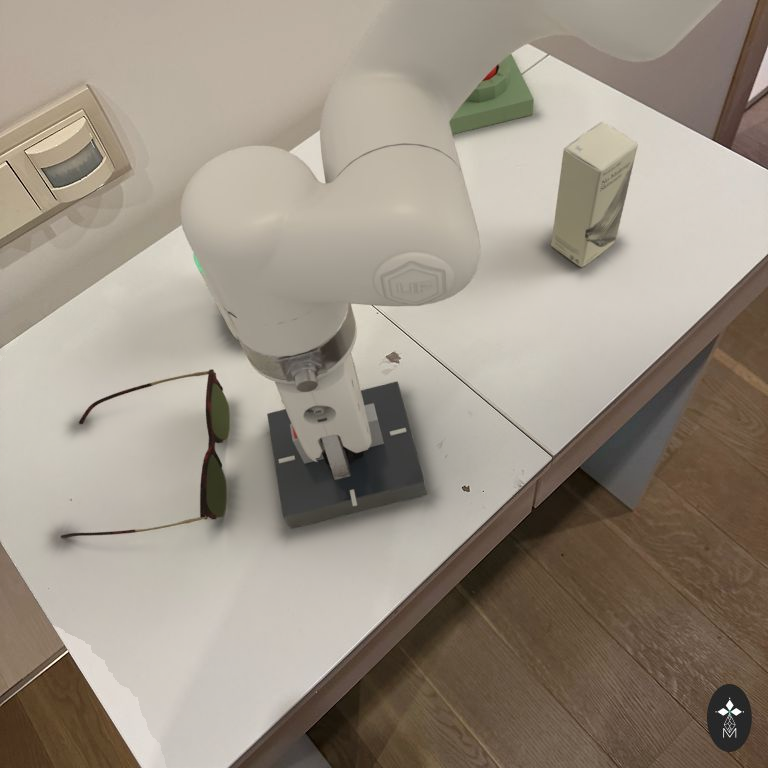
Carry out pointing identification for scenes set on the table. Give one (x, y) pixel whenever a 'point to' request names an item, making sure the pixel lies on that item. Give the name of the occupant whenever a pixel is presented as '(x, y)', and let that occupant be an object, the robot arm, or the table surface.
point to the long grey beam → (373, 426)
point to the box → (592, 192)
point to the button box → (495, 100)
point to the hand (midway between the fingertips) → (342, 445)
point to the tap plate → (367, 474)
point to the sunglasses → (212, 473)
